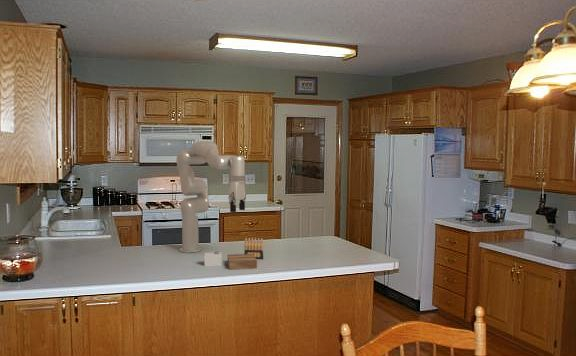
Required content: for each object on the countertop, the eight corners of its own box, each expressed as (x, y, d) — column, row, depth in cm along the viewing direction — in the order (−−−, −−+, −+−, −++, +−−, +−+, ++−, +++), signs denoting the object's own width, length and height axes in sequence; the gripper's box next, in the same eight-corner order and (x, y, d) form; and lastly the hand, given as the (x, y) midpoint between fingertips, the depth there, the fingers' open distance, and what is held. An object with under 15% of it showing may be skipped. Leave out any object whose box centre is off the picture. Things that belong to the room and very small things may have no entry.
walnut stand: (227, 262, 276) (227, 254, 275) (253, 261, 278) (253, 254, 278) (229, 269, 260) (229, 261, 260) (256, 268, 262) (256, 260, 262)
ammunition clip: (244, 258, 284) (244, 237, 283) (244, 258, 286) (244, 237, 285) (263, 259, 283) (263, 238, 282) (263, 258, 285) (263, 237, 284)
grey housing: (204, 263, 272) (204, 251, 271) (221, 263, 274) (221, 250, 273) (204, 266, 267) (204, 253, 266) (221, 265, 269) (221, 252, 268)
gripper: (239, 177, 280) (239, 208, 281) (223, 180, 264) (223, 212, 265) (251, 178, 277) (251, 209, 278) (235, 180, 261) (235, 213, 262)
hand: (237, 211), depth 271 cm, fingers open, 9 cm apart
